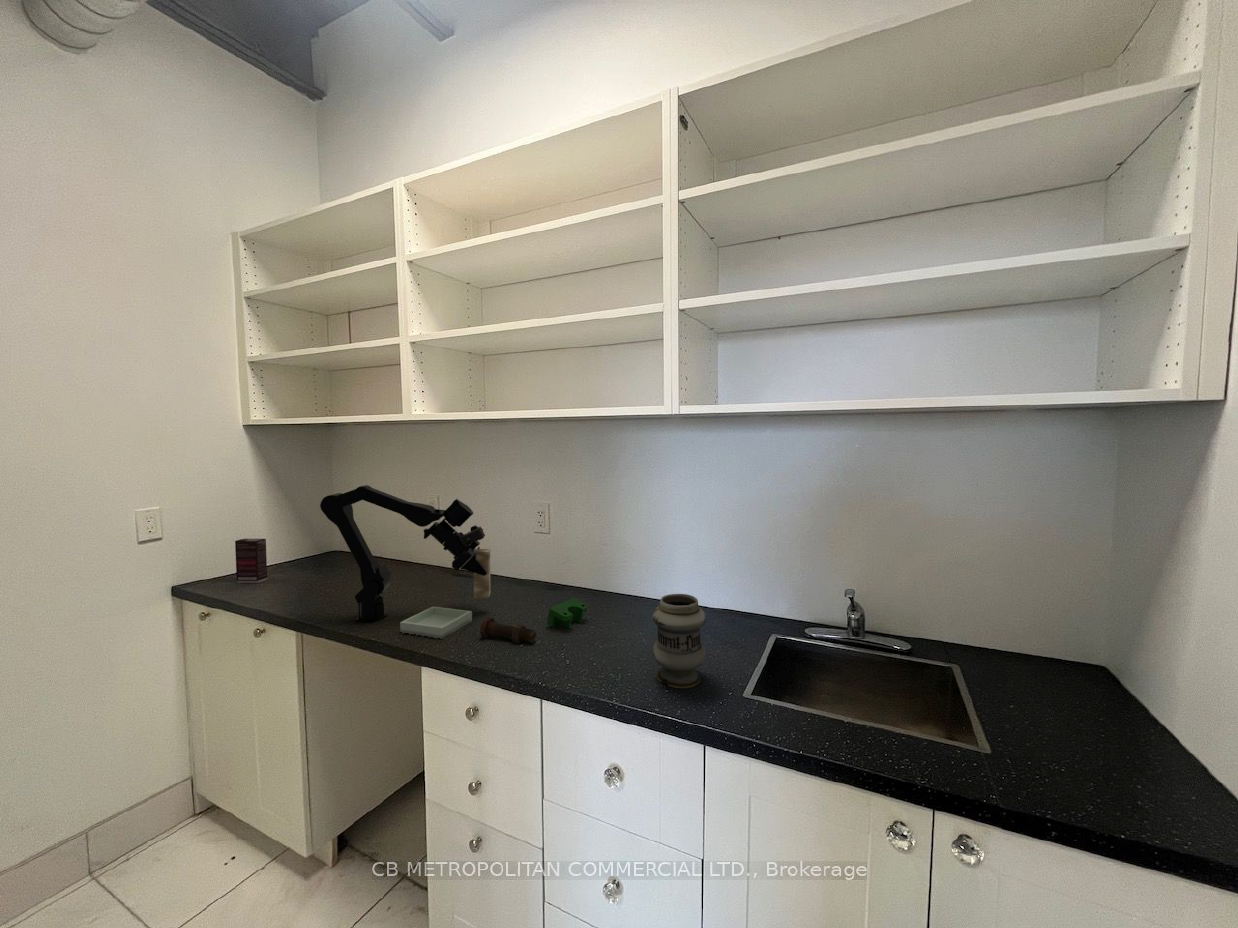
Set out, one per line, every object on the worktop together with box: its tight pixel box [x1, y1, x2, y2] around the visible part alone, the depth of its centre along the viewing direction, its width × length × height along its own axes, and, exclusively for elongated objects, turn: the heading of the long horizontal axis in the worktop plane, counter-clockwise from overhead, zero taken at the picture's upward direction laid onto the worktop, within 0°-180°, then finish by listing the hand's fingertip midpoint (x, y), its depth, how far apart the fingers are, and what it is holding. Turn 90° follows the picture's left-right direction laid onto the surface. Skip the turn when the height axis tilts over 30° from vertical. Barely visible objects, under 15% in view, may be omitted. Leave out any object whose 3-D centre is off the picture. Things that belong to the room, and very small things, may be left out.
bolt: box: [479, 616, 537, 644], centre depth 131 cm, size 6×5×15 cm
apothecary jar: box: [651, 593, 707, 689], centre depth 110 cm, size 12×12×18 cm
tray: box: [399, 606, 473, 640], centre depth 139 cm, size 14×14×3 cm
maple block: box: [473, 548, 491, 599], centre depth 150 cm, size 4×4×14 cm
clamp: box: [546, 597, 589, 630], centre depth 142 cm, size 12×6×9 cm, turn 141°
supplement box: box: [234, 538, 268, 584], centre depth 183 cm, size 9×5×16 cm, turn 88°
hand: (486, 572), depth 150 cm, fingers closed on maple block, 4 cm apart
